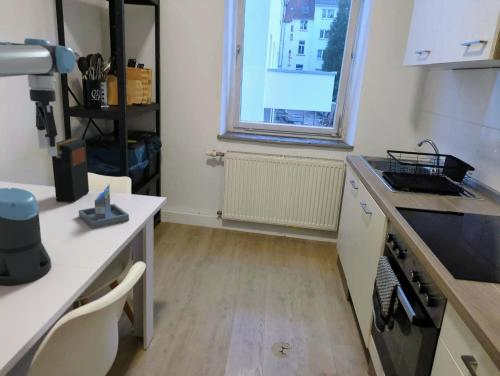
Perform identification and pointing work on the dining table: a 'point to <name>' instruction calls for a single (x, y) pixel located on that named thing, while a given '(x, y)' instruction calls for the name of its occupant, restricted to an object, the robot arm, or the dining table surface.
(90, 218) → the parts tray
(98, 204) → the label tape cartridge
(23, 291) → the dining table surface
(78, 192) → the voltmeter
